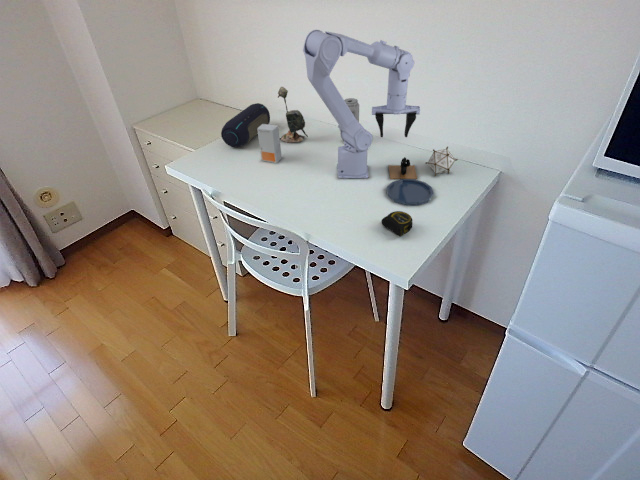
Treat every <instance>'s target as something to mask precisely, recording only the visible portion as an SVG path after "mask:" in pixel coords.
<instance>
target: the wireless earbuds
mask: <svg viewBox="0 0 640 480" xmlns="http://www.w3.org/2000/svg"><path fill="white" fill-rule="evenodd" d="M400 165H401V173H402V175H404V174H406V170H407V167H409V166H410V165H411V160H410V159H408V158H407V157H406V156H404V157H403V158H401V161H400Z"/></svg>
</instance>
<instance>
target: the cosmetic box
mask: <svg viewBox="0 0 640 480" xmlns="http://www.w3.org/2000/svg"><path fill="white" fill-rule="evenodd" d="M257 130H258V134H257V137H258V138H257V139H258V145H259V153H260V159H261V161H262V162H267V163H274V164H278V163H279V161H281V160H282V148H281V140H280V138H281V136H280V127H279V125H276V124H270V123H269V124H262V125H261V126H259V127H258V128H257Z"/></svg>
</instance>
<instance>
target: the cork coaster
mask: <svg viewBox="0 0 640 480" xmlns="http://www.w3.org/2000/svg"><path fill="white" fill-rule="evenodd" d="M388 175H389V180H400V179H415V180H418V175H417V171H416V166H415V165H411V164H410V166H409V167H407V170H406V174H404V175H402V173H401V164H399V165H397V164H396V165H394V164H392V165H390V164H389V165H388Z"/></svg>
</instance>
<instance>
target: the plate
mask: <svg viewBox="0 0 640 480" xmlns="http://www.w3.org/2000/svg"><path fill="white" fill-rule="evenodd" d="M386 196H387V198H389V199H390V200H391V201H392V202H394V203H396V204H399V205H403V206H406V207H407V206H409V207H410V206H421V205H425V204H427V203H429V202H430V201H431V200H432V199H433V197H434V190H433V187H432V186H431V185H429V184H428V183H427V182H425V181H423V180H419V179H396V180H394V181H391V182H390V183H389V184H388V185H387V186H386Z"/></svg>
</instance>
